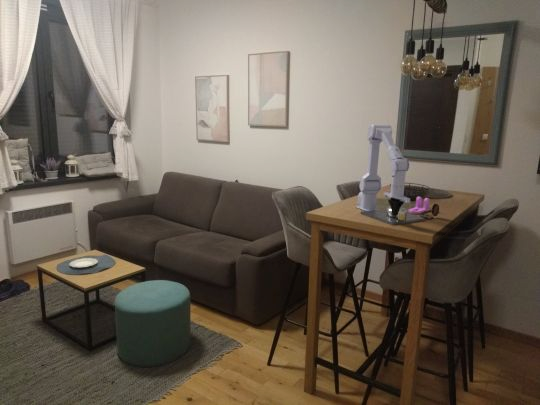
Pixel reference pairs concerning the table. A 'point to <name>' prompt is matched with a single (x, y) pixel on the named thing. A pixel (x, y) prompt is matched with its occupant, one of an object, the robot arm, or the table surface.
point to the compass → (434, 212)
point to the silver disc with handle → (401, 213)
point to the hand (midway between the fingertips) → (394, 215)
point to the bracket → (418, 206)
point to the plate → (383, 217)
